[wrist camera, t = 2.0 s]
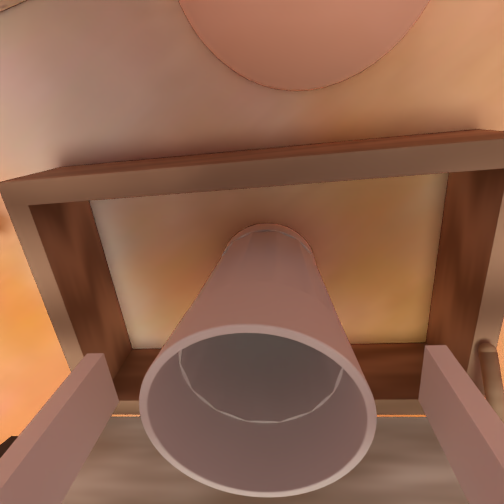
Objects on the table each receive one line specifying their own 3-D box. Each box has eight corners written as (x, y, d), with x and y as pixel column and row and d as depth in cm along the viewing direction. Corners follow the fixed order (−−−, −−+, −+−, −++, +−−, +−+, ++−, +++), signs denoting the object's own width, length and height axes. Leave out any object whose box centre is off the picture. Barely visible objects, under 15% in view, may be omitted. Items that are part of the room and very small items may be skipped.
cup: (262, 184, 20) (238, 273, 9) (353, 264, 21) (430, 425, 10) (186, 271, 23) (96, 421, 12) (272, 336, 24) (265, 523, 13)
